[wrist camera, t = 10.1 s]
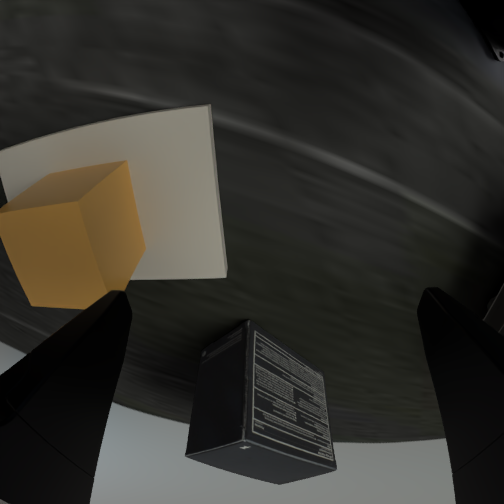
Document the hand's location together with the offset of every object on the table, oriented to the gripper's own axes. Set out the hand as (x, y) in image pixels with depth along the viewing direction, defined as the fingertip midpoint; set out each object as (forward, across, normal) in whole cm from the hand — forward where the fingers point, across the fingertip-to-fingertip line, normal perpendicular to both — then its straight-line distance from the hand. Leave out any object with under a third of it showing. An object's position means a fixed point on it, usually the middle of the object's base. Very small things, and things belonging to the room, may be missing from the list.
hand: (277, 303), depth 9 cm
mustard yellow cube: (+10, +11, +2) cm, 15 cm away
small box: (+11, +1, +18) cm, 21 cm away
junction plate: (+11, +11, +2) cm, 16 cm away
